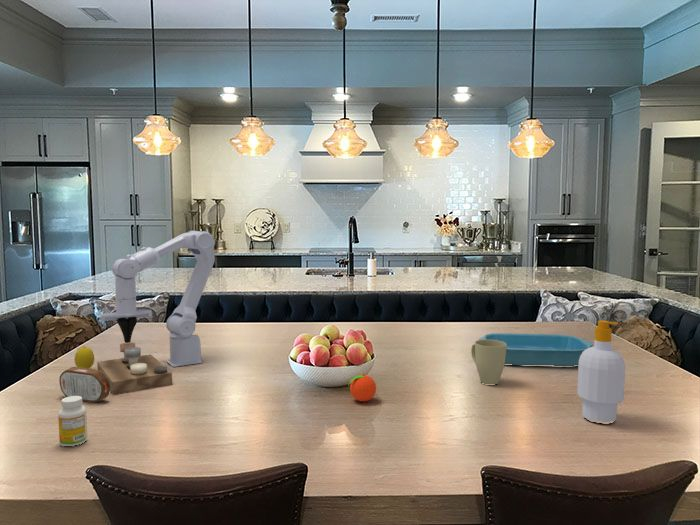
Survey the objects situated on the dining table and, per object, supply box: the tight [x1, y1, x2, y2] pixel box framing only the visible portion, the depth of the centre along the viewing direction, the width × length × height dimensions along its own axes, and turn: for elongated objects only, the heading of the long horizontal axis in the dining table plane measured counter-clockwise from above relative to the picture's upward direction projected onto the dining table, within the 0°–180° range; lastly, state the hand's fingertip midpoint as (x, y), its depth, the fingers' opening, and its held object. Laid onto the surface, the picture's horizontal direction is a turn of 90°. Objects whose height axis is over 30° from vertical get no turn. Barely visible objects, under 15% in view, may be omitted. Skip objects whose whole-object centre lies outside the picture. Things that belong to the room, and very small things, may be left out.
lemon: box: [74, 345, 95, 369], centre depth 170 cm, size 6×6×8 cm
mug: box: [470, 339, 507, 385], centre depth 161 cm, size 11×10×12 cm
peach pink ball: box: [119, 342, 136, 362], centre depth 169 cm, size 4×4×5 cm
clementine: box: [347, 374, 377, 403], centre depth 145 cm, size 8×7×7 cm
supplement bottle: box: [57, 396, 88, 447], centre depth 118 cm, size 5×5×10 cm
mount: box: [96, 353, 173, 395], centre depth 163 cm, size 16×24×5 cm, turn 34°
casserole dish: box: [478, 332, 594, 366], centre depth 185 cm, size 37×22×7 cm, turn 84°
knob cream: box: [130, 363, 147, 375], centre depth 157 cm, size 4×4×5 cm
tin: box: [59, 366, 111, 403], centre depth 145 cm, size 15×3×8 cm, turn 71°
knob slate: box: [125, 346, 142, 367], centre depth 163 cm, size 4×4×5 cm
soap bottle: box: [576, 319, 626, 422], centre depth 132 cm, size 10×10×24 cm
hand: (127, 341), depth 168 cm, fingers closed
